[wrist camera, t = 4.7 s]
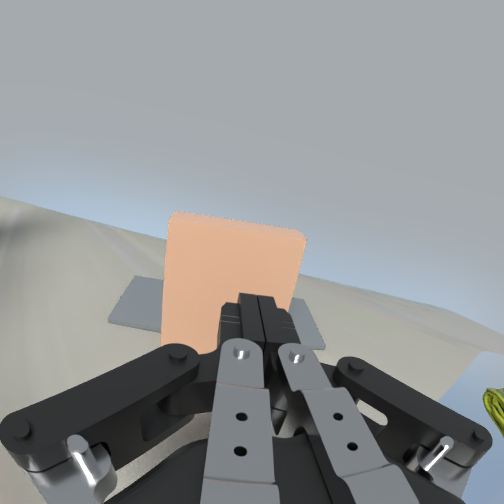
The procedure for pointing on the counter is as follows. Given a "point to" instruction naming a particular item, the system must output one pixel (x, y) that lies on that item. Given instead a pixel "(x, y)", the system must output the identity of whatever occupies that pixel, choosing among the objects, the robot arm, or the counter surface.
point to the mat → (150, 311)
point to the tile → (222, 272)
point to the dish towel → (495, 406)
